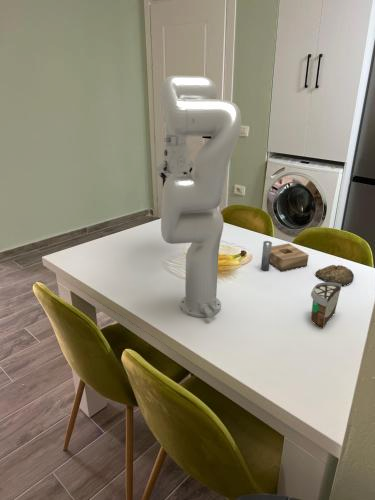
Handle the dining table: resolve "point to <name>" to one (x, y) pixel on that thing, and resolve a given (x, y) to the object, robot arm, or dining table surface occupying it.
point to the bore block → (287, 257)
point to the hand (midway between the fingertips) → (176, 187)
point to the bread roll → (336, 274)
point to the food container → (324, 302)
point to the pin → (266, 255)
